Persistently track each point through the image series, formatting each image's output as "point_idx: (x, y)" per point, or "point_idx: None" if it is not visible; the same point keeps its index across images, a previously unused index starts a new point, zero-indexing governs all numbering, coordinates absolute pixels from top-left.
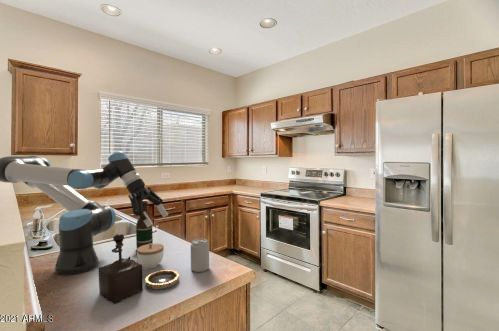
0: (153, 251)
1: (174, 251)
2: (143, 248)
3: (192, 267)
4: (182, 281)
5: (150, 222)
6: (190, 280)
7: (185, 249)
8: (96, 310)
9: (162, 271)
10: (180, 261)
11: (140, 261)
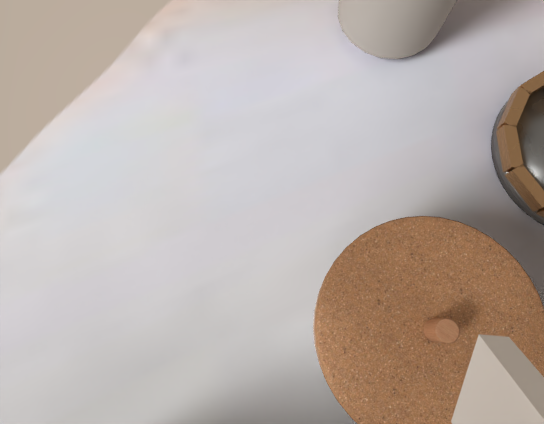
0: (511, 257)
1: (124, 268)
2: None
3: (438, 31)
4: (539, 62)
5: (533, 373)
6: (519, 29)
7: (81, 202)
8: None
9: (528, 174)
10: (298, 160)
11: None
